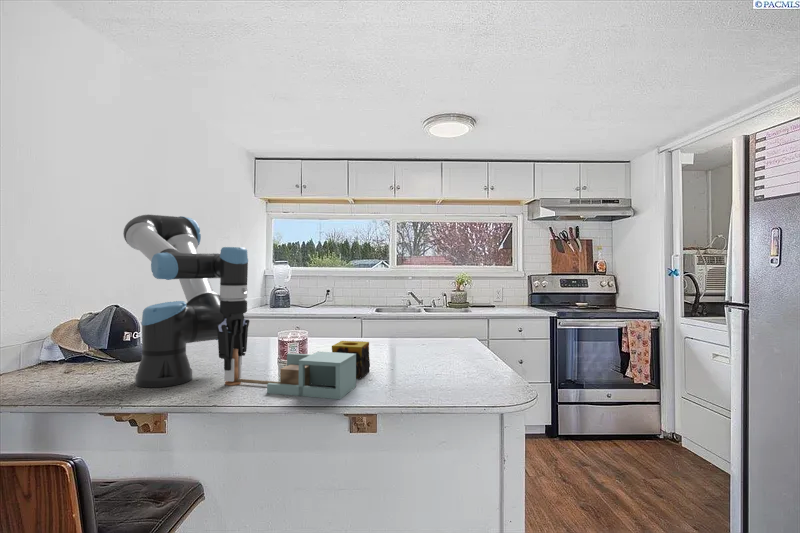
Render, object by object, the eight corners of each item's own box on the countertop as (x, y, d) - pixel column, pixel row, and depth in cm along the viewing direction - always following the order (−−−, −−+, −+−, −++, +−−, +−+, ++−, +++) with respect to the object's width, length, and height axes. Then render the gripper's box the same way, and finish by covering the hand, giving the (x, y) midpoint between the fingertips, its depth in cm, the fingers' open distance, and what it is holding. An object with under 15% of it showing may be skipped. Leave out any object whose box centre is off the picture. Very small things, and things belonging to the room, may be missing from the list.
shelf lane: (267, 393, 123) (267, 358, 123) (288, 381, 135) (289, 349, 135) (339, 399, 117) (340, 363, 117) (355, 386, 130) (356, 353, 129)
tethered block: (220, 385, 130) (220, 351, 130) (232, 380, 136) (232, 347, 136) (300, 392, 124) (300, 355, 124) (309, 386, 130) (309, 351, 129)
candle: (361, 379, 137) (361, 347, 137) (330, 378, 139) (330, 345, 139) (370, 371, 147) (370, 341, 147) (341, 370, 149) (341, 340, 149)
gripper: (228, 302, 123) (227, 387, 124) (259, 298, 139) (258, 373, 139) (204, 301, 125) (204, 385, 125) (238, 297, 141) (237, 372, 141)
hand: (232, 379), depth 132 cm, fingers closed on tethered block, 3 cm apart
